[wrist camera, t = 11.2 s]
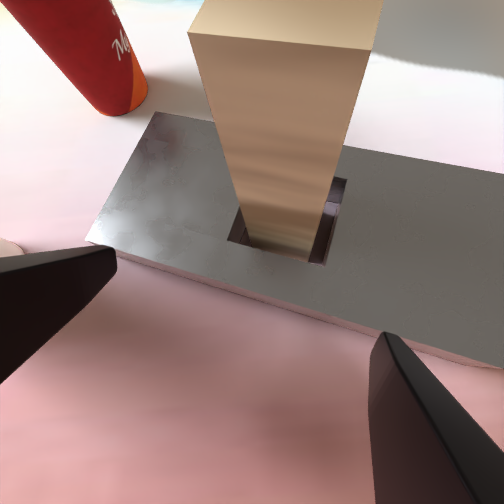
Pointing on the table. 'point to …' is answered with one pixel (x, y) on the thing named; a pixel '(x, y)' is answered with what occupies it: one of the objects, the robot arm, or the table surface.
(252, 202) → the maple peg
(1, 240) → the cylindrical container
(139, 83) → the paper cup
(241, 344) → the table surface
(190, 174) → the socket plate
